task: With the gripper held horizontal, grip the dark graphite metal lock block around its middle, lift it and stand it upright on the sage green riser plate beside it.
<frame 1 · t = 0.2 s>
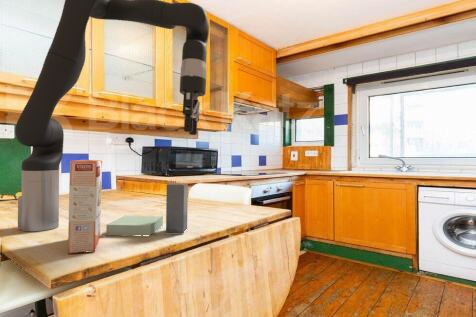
hand: (190, 133, 84), 29 cm above the table, tool pointing down, fingers open, 8 cm apart
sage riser: (136, 230, 85), on the table
cracker box: (86, 245, 71), on the table
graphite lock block: (176, 231, 84), on the table
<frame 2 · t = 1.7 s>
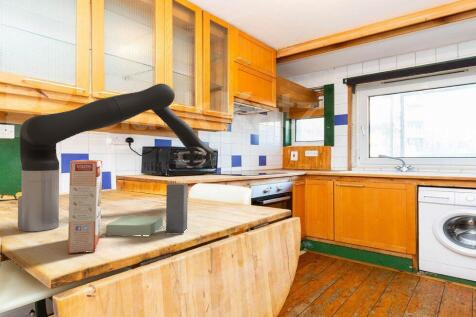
hand: (186, 157, 95), 22 cm above the table, tool horizontal, fingers open, 8 cm apart
nothing on the table moved.
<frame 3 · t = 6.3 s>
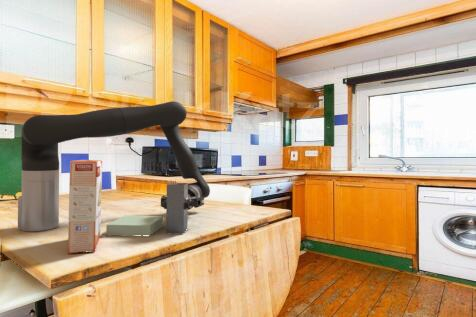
hand: (175, 205, 82), 8 cm above the table, tool horizontal, fingers closed on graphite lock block, 5 cm apart
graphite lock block: (177, 231, 84), on the table, touching gripper
everything else where it was.
when the fingers open (12 cm above the table, at t = 11.3 s): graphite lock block drops 1 cm, resting on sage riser.
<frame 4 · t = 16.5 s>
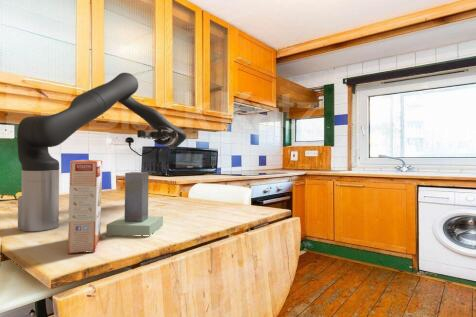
hand: (151, 133, 103), 30 cm above the table, tool horizontal, fingers open, 8 cm apart
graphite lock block: (136, 220, 85), point 3 cm above the table, touching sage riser
everything else where it was.
at the end: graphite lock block inside the target area on the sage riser (0.1 cm from its centre), point 3.0 cm above the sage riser's base; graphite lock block tilted 0°; the gripper is holding nothing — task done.
